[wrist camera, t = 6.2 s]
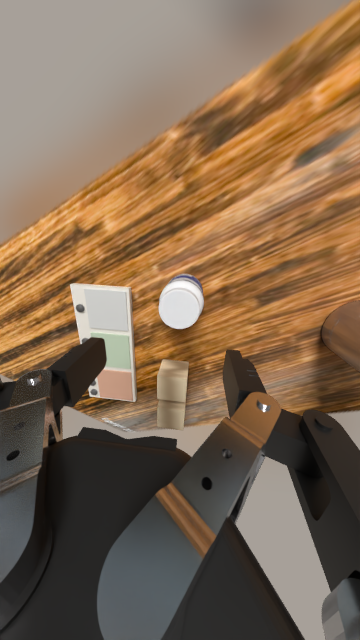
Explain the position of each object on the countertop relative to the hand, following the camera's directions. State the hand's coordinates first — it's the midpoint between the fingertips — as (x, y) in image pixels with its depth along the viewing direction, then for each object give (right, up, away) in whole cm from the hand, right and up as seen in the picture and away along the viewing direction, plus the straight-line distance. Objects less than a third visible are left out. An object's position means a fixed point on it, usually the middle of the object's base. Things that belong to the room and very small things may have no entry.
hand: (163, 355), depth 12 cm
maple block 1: (0, -8, +24) cm, 25 cm away
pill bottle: (+2, +7, +18) cm, 19 cm away
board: (-13, -3, +23) cm, 26 cm away
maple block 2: (0, -14, +26) cm, 30 cm away
